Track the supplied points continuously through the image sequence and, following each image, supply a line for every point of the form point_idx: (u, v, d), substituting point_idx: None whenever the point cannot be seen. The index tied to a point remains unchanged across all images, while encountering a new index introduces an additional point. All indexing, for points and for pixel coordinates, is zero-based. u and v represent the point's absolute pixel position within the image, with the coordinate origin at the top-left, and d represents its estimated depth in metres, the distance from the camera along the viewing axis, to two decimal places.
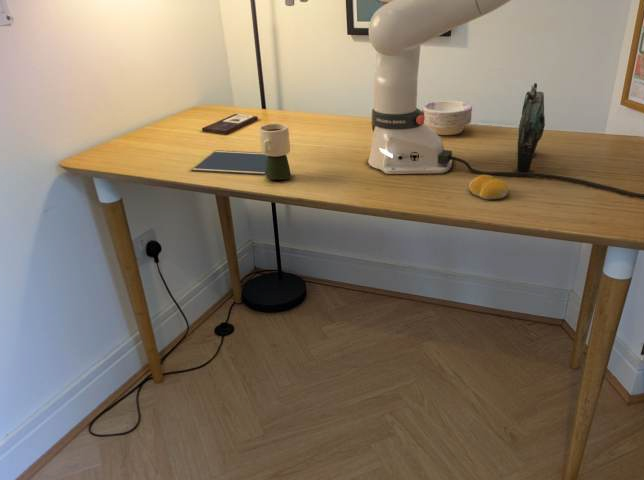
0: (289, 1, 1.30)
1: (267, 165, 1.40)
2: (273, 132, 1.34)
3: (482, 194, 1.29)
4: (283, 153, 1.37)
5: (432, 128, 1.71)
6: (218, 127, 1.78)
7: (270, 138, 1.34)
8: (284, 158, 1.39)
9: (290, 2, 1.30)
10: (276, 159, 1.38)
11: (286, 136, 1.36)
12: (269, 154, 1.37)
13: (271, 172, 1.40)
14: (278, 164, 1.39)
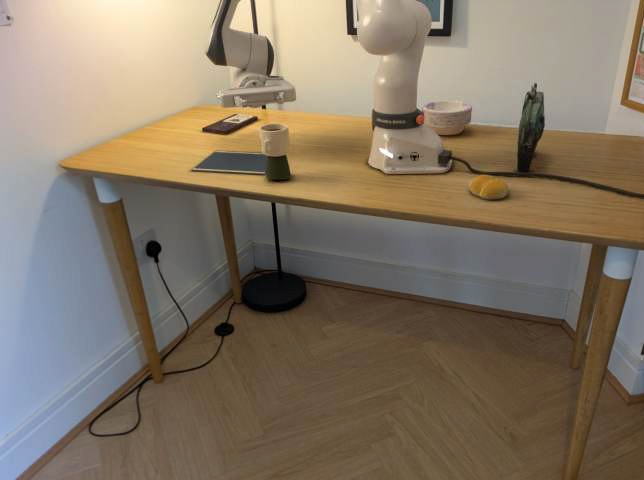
0: (240, 102, 1.44)
1: (267, 165, 1.40)
2: (273, 132, 1.34)
3: (482, 194, 1.29)
4: (283, 153, 1.37)
5: (432, 128, 1.71)
6: (218, 127, 1.78)
7: (270, 138, 1.34)
8: (284, 158, 1.39)
9: (240, 101, 1.43)
10: (276, 159, 1.38)
11: (286, 136, 1.36)
12: (269, 154, 1.37)
13: (271, 172, 1.40)
14: (278, 164, 1.39)
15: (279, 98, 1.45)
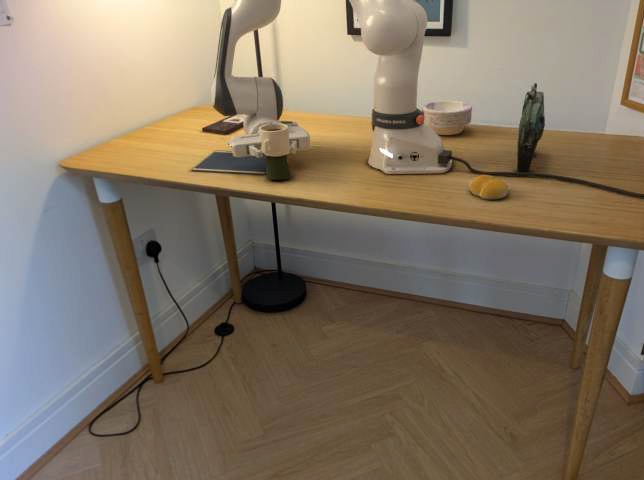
0: (255, 152, 1.38)
1: (267, 165, 1.40)
2: (273, 132, 1.34)
3: (482, 194, 1.29)
4: (283, 153, 1.37)
5: (432, 128, 1.71)
6: (218, 127, 1.78)
7: (270, 138, 1.34)
8: (284, 158, 1.39)
9: (255, 152, 1.38)
10: (276, 159, 1.38)
11: (286, 136, 1.36)
12: (269, 154, 1.37)
13: (271, 172, 1.40)
14: (278, 164, 1.39)
15: (291, 148, 1.40)
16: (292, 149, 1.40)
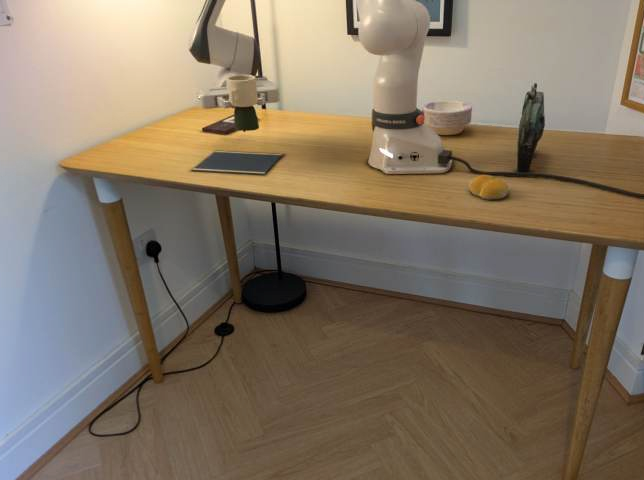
0: (223, 103, 1.39)
1: (235, 116, 1.41)
2: (240, 81, 1.35)
3: (482, 194, 1.29)
4: (250, 104, 1.38)
5: (432, 128, 1.71)
6: (218, 127, 1.78)
7: (237, 88, 1.35)
8: (252, 109, 1.40)
9: (223, 102, 1.39)
10: (244, 110, 1.39)
11: (253, 86, 1.37)
12: (236, 104, 1.38)
13: (239, 123, 1.41)
14: (246, 115, 1.40)
15: (259, 99, 1.41)
16: (260, 100, 1.41)
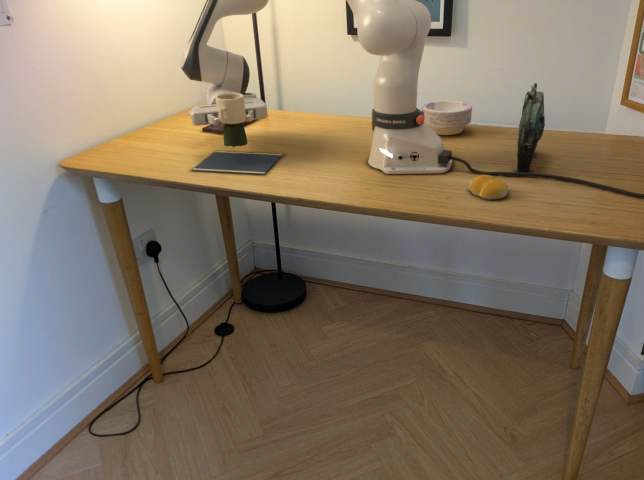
0: (213, 120, 1.46)
1: (224, 132, 1.47)
2: (228, 100, 1.41)
3: (482, 194, 1.29)
4: (239, 121, 1.45)
5: (432, 128, 1.71)
6: (218, 127, 1.78)
7: (226, 106, 1.42)
8: (240, 126, 1.47)
9: (213, 119, 1.46)
10: (232, 127, 1.46)
11: (241, 104, 1.44)
12: (225, 121, 1.44)
13: (228, 139, 1.47)
14: (234, 131, 1.46)
15: (247, 116, 1.47)
16: (248, 118, 1.48)
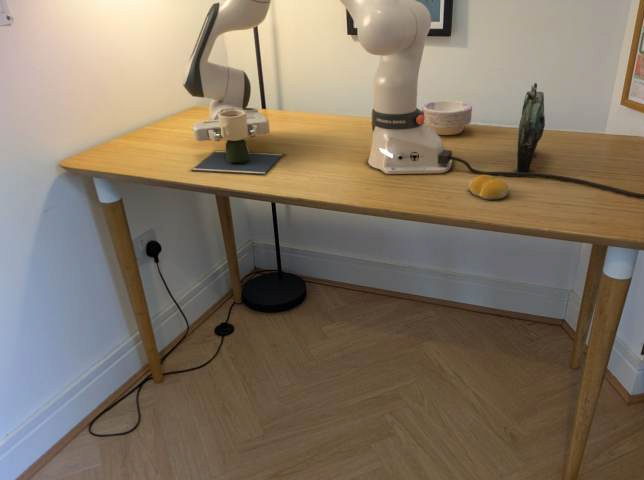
0: (214, 136, 1.48)
1: (227, 149, 1.50)
2: (230, 117, 1.44)
3: (482, 194, 1.29)
4: (241, 137, 1.47)
5: (432, 128, 1.71)
6: None
7: (228, 123, 1.44)
8: (242, 142, 1.49)
9: (214, 135, 1.48)
10: (235, 143, 1.48)
11: (243, 121, 1.46)
12: (228, 138, 1.47)
13: (230, 155, 1.50)
14: (237, 148, 1.49)
15: (252, 131, 1.50)
16: (252, 133, 1.50)
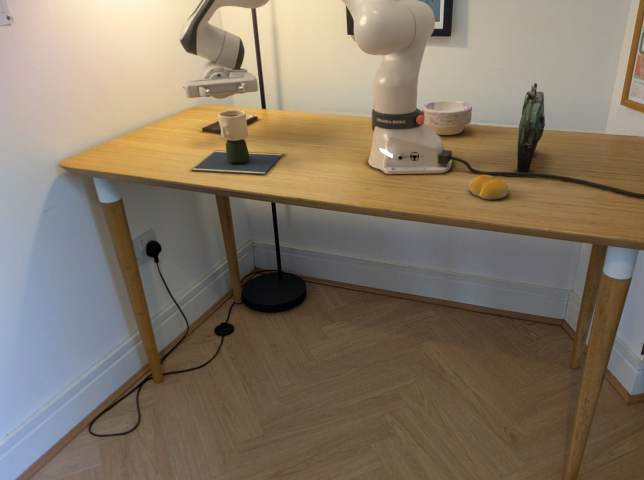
0: (204, 92, 1.54)
1: (227, 149, 1.50)
2: (230, 117, 1.44)
3: (482, 194, 1.29)
4: (241, 137, 1.47)
5: (432, 128, 1.71)
6: (218, 127, 1.78)
7: (228, 123, 1.44)
8: (242, 142, 1.49)
9: (204, 91, 1.53)
10: (235, 143, 1.48)
11: (243, 121, 1.46)
12: (228, 138, 1.47)
13: (230, 155, 1.50)
14: (237, 148, 1.49)
15: (240, 88, 1.56)
16: (241, 89, 1.56)
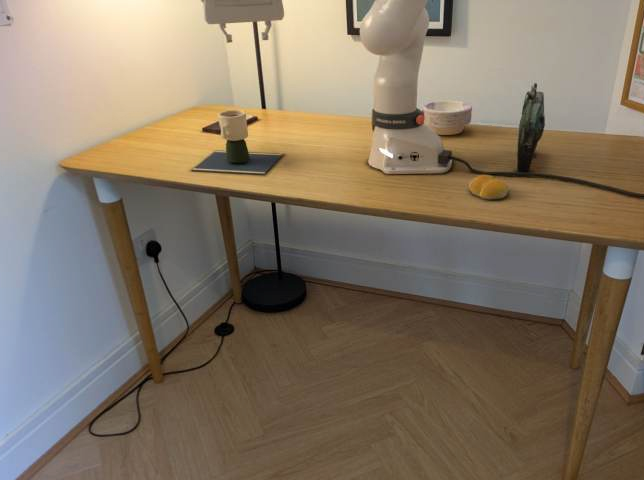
0: (226, 38, 1.45)
1: (227, 149, 1.50)
2: (230, 117, 1.44)
3: (482, 194, 1.29)
4: (241, 137, 1.47)
5: (432, 128, 1.71)
6: (218, 127, 1.78)
7: (228, 123, 1.44)
8: (242, 142, 1.49)
9: (226, 39, 1.45)
10: (235, 143, 1.48)
11: (243, 121, 1.46)
12: (228, 138, 1.47)
13: (230, 155, 1.50)
14: (237, 148, 1.49)
15: (264, 39, 1.48)
16: None
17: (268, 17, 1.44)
